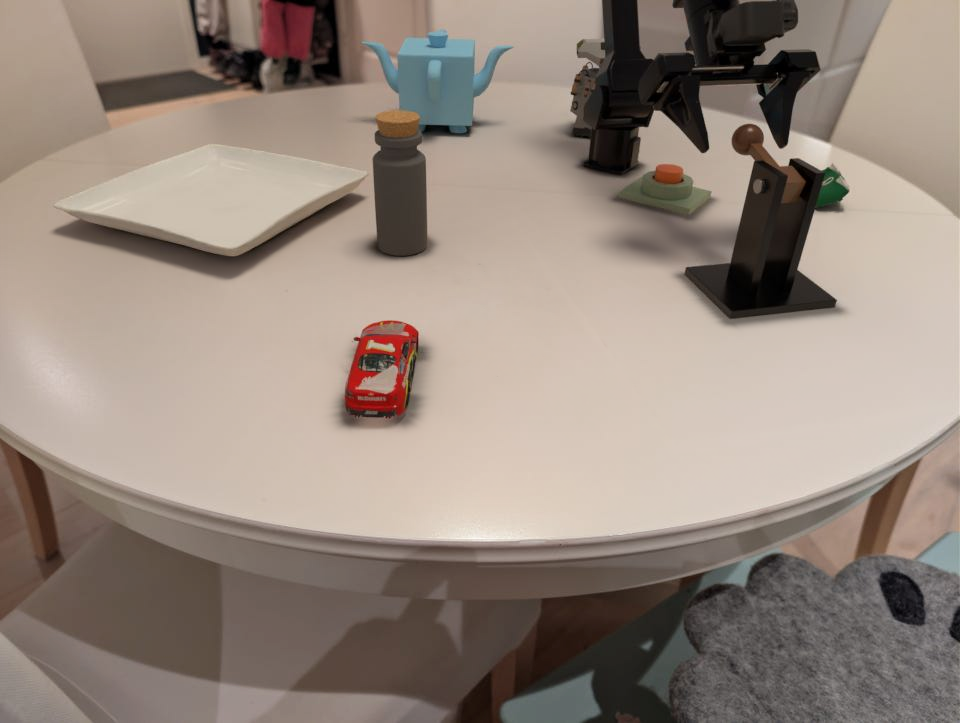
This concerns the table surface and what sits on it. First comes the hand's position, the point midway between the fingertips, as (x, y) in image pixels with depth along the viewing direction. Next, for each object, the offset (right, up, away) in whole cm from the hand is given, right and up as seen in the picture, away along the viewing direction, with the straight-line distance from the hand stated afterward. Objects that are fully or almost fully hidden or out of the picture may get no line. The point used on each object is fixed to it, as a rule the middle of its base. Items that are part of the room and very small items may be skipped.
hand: (745, 149), depth 78 cm
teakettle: (-35, +19, +51) cm, 65 cm away
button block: (-3, 0, +23) cm, 23 cm away
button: (-3, +2, +21) cm, 22 cm away
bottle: (-37, -9, +9) cm, 39 cm away
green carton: (+18, 0, +24) cm, 31 cm away
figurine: (-7, +17, +49) cm, 52 cm away
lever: (+1, -3, -2) cm, 4 cm away
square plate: (-60, -4, +16) cm, 62 cm away
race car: (-36, -24, -14) cm, 46 cm away
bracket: (+1, -15, +1) cm, 15 cm away
